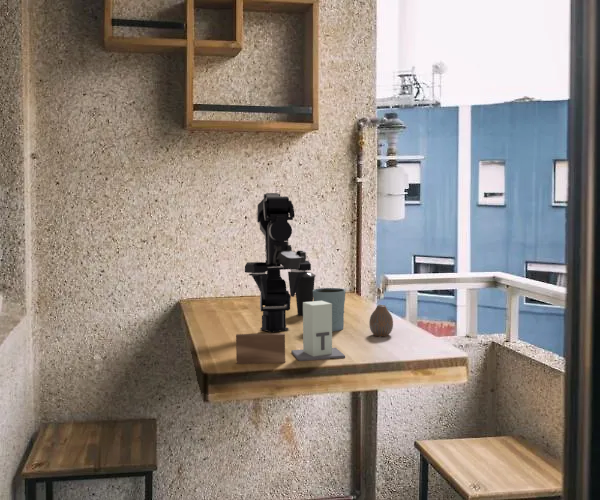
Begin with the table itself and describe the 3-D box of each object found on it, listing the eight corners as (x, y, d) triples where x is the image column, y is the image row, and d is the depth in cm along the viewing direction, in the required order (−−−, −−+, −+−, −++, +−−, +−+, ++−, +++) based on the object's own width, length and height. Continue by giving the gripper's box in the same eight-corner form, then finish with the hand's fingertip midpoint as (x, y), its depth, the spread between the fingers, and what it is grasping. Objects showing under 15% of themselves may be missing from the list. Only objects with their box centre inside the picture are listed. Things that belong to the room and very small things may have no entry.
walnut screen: (236, 362, 167) (236, 334, 167) (284, 360, 168) (284, 333, 167) (236, 363, 166) (236, 335, 165) (285, 362, 166) (284, 334, 166)
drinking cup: (290, 315, 228) (289, 257, 226) (298, 311, 235) (298, 255, 233) (311, 317, 225) (310, 257, 223) (319, 313, 232) (318, 255, 230)
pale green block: (303, 351, 175) (302, 302, 174) (321, 349, 177) (321, 300, 176) (313, 356, 170) (313, 305, 168) (332, 354, 172) (332, 303, 171)
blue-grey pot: (322, 333, 200) (321, 293, 199) (307, 327, 209) (306, 288, 208) (351, 329, 205) (351, 290, 203) (335, 323, 214) (335, 286, 213)
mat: (335, 349, 179) (335, 347, 179) (345, 357, 170) (345, 355, 170) (291, 352, 177) (291, 350, 177) (298, 360, 168) (298, 358, 168)
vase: (378, 338, 192) (378, 308, 191) (364, 334, 198) (364, 304, 197) (397, 336, 195) (397, 306, 194) (384, 331, 201) (384, 302, 201)
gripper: (264, 242, 175) (265, 301, 175) (322, 240, 186) (323, 297, 186) (243, 242, 184) (244, 299, 184) (299, 241, 195) (300, 295, 195)
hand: (278, 297), depth 187 cm, fingers open, 9 cm apart
